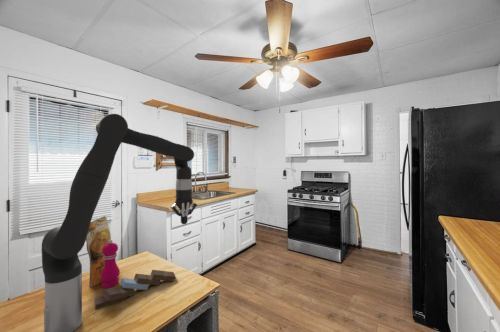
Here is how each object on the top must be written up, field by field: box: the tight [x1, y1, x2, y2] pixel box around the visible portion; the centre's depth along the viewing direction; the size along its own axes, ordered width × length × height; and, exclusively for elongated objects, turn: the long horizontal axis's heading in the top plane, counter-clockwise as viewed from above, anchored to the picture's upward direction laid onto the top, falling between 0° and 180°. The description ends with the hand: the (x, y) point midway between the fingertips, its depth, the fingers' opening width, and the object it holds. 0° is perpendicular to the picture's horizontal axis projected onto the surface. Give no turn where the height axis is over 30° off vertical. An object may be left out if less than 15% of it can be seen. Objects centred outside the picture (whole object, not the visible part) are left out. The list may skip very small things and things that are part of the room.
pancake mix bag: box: [85, 215, 112, 288], centre depth 102 cm, size 7×19×28 cm, turn 3°
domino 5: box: [150, 269, 176, 282], centre depth 99 cm, size 2×5×10 cm
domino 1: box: [101, 285, 136, 301], centre depth 85 cm, size 2×5×10 cm
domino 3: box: [119, 277, 150, 291], centre depth 91 cm, size 2×5×10 cm
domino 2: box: [94, 295, 127, 310], centre depth 85 cm, size 2×5×10 cm
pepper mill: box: [101, 239, 121, 289], centre depth 97 cm, size 7×7×20 cm
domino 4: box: [133, 273, 162, 286], centre depth 95 cm, size 2×5×10 cm
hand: (184, 223), depth 105 cm, fingers closed
